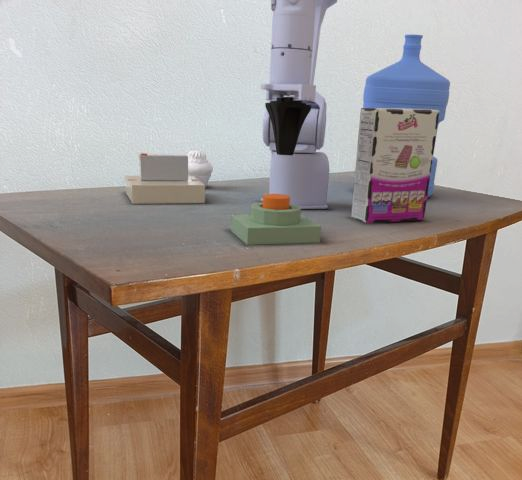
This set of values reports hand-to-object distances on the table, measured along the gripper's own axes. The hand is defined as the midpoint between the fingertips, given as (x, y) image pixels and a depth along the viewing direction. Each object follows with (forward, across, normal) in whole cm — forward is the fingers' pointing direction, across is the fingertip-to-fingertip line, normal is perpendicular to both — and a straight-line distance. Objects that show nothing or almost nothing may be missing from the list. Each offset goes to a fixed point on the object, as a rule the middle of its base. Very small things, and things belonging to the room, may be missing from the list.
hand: (284, 155), depth 86 cm
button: (+6, +10, -4) cm, 13 cm away
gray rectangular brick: (+6, -19, -14) cm, 25 cm away
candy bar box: (+9, +1, +18) cm, 20 cm away
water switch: (+10, +10, -4) cm, 15 cm away
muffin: (+9, -30, -6) cm, 32 cm away
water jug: (+8, -22, +32) cm, 39 cm away
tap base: (+9, -19, -14) cm, 26 cm away
